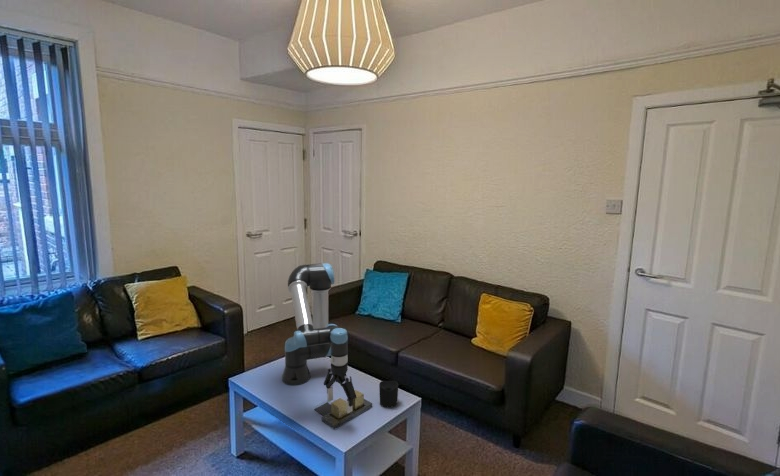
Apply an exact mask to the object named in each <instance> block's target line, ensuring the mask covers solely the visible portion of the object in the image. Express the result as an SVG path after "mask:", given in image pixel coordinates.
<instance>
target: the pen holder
mask: <svg viewBox="0 0 780 476" xmlns="http://www.w3.org/2000/svg"><path fill="white" fill-rule="evenodd" d="M378 385H379V389H378V390H379V404H380V406H381V407H384V408H388V409H389V408H394V407H396V406H397V404H398V400H399V399H398V396H399V383H398V381H396V380H390V381H389V380H382V381H380V382H379V384H378Z"/></svg>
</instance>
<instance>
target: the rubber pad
mask: <svg viewBox="0 0 780 476" xmlns="http://www.w3.org/2000/svg"><path fill="white" fill-rule="evenodd" d="M313 410H314V412H316V413H318V414H319V415H321V416H322V417H323V416H325V415H326V414H328V413H330V412H331V403H330V402H328V401H327V402H325V403H323V404H321V405H319V406H318V407H316V408H314V409H313Z"/></svg>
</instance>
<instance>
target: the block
mask: <svg viewBox="0 0 780 476" xmlns="http://www.w3.org/2000/svg"><path fill="white" fill-rule="evenodd" d="M354 390H355V394H356V397H357V398H356V399H354V400H353V406H352V410H353V411H357V410H359V409H360V408H362V407H364V399H365V398H364V393H363V392H360V391H359V390H357V389H354ZM347 399H348V398H346V400H347Z"/></svg>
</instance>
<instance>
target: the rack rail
mask: <svg viewBox="0 0 780 476" xmlns="http://www.w3.org/2000/svg"><path fill="white" fill-rule="evenodd" d="M372 408H373V403H372V402H370V401H369V400H367V399H365V398H364V407H362V408H360V409H359V410H357V411H353V410H352V412H350V413H348V416H347V417H345V418H343V419H341V420H340V421H338V420H337V419H335V418H333V417H332V416H331V412H330V413H328V414H326V415H325V416H323V415H322V416H321V422H322V423H324V424H325V425H327V426H329V427H330V428H332V429H333V430H336V429H337V428H339V427H341V426H343V425H345V424H346V423H347V422H350V421H351V420H353V419H354V418H356V417H357V416H359V415H361V414H363V413H365V412H367V411H368V410H370V409H372Z"/></svg>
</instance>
